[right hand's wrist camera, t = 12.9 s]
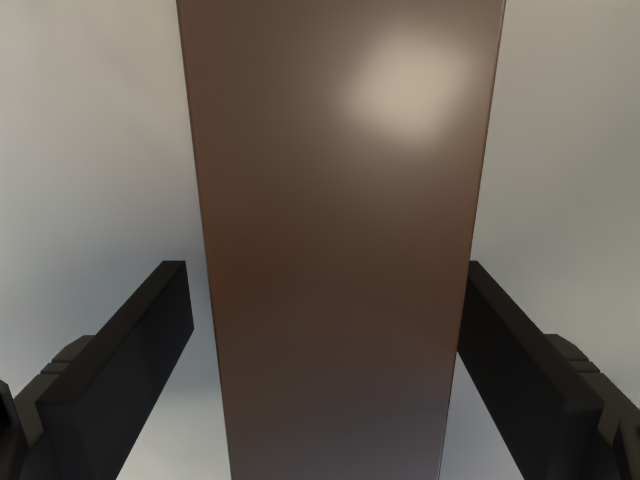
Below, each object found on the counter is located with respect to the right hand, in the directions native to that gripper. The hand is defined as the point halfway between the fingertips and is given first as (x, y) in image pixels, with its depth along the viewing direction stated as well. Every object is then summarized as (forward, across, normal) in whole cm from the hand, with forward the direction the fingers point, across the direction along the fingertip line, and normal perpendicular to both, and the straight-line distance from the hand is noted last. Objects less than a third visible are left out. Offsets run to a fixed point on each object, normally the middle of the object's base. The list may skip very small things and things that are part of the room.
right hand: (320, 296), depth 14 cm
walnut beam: (+2, 0, -12) cm, 13 cm away
